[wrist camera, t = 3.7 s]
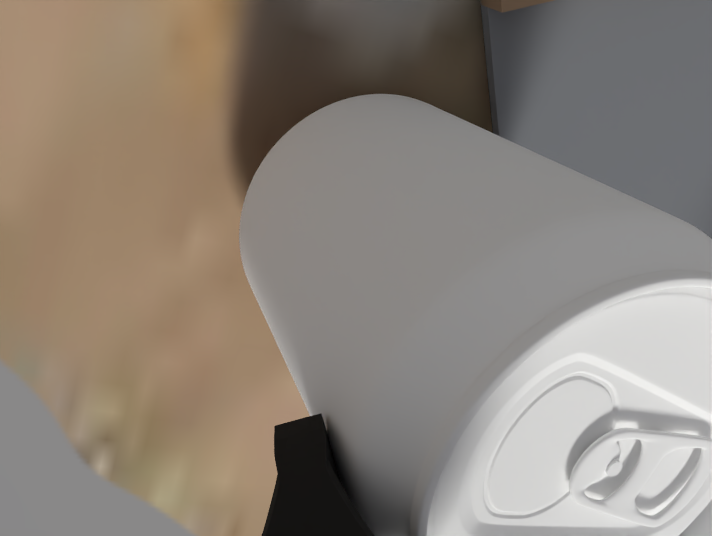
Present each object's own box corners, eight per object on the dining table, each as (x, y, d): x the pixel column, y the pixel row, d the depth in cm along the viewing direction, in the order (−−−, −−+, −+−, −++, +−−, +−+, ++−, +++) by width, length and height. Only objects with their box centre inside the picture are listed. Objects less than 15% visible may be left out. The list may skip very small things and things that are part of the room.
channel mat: (804, 265, 25) (842, 288, 24) (512, 338, 25) (530, 367, 23) (867, -123, 19) (923, -127, 17) (477, -33, 19) (498, -28, 17)
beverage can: (302, 41, 18) (574, 159, 8) (519, 149, 22) (893, 324, 12) (193, 296, 20) (295, 657, 10) (409, 355, 24) (645, 660, 14)
